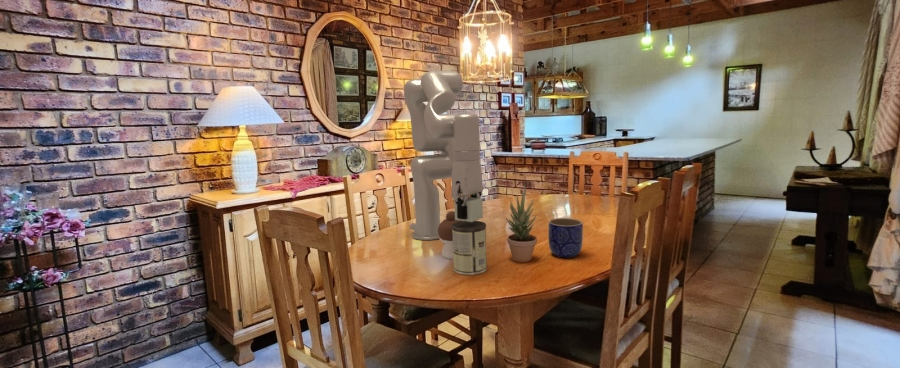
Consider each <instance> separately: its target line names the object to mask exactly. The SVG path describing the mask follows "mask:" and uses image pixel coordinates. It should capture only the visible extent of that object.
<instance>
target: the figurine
mask: <svg viewBox="0 0 900 368" xmlns="http://www.w3.org/2000/svg"><path fill="white" fill-rule="evenodd" d="M445 218H446V219H442V221H440V225H439V227H438V235H439V240H440V242H442V243H443V246H442V249H441V253H440V254H441V257H442V258H443V259H447V260H454V259H453V233H452V224H454V223H456V222H460V220H455V210H454V211H452V210H451V211H447V213H446V216H445Z"/></svg>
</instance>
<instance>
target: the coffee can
mask: <svg viewBox="0 0 900 368" xmlns="http://www.w3.org/2000/svg"><path fill="white" fill-rule="evenodd" d="M452 233H453V259H452V260H453V272H454V273H457V274H459V275H463V276H465V275H467V276H472V275H474V276H475V275H479V274H483V273H485V272H486V271H487V270H488V267H487V235H486V234H487V224H486V222H484V221H480V220H476V221H473V222H467V221H460V222H456V223H454V224H452Z"/></svg>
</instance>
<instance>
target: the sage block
mask: <svg viewBox="0 0 900 368" xmlns="http://www.w3.org/2000/svg"><path fill="white" fill-rule="evenodd" d="M461 199H462V200H463V197H461ZM453 202H454V212H455V220H460V221H467V222H473V221H480V220H481V219H483V218H484V216H483V215H484V212H483V209H484V208H483V206H484V205H483V197H480V198H473V197H470V196H467V200H466V205H465V206H467V219H458V218H457V205H456V203H455V201H453Z"/></svg>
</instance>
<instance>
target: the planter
mask: <svg viewBox="0 0 900 368" xmlns="http://www.w3.org/2000/svg"><path fill="white" fill-rule="evenodd" d="M547 224H548V235H547V237H548V248H549V250H550V252H551V253H552V254H553V255H554V256H556V257H558V258H565V259H570V258H575V257H576V256H578V255H579V254H580V253H581V251H582V249H583V239H584V237H583V236H584V230H583V229H584V222H583V221H582V220H580V219H576V218H569V217H568V218H567V217H560V218H558V217H557V218H552V219H549V220H548V223H547Z"/></svg>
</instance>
